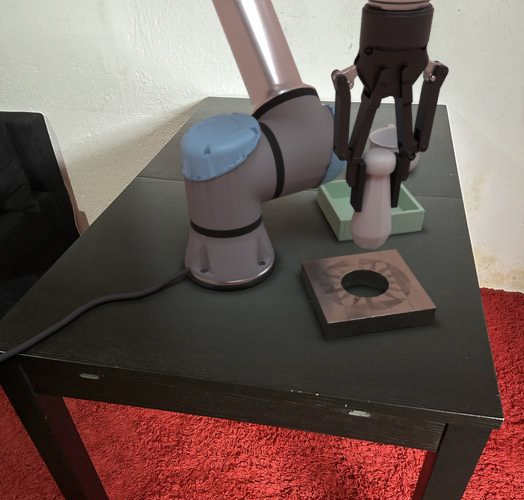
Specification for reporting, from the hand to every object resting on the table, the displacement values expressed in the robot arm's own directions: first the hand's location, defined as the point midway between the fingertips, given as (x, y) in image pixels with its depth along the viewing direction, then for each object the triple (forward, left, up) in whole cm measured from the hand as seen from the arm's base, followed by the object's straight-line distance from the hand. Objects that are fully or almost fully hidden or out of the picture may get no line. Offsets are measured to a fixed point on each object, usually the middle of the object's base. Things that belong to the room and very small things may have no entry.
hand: (373, 204), depth 71 cm
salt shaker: (0, 0, -6) cm, 6 cm away
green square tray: (+9, +25, -16) cm, 31 cm away
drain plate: (0, 0, -16) cm, 16 cm away
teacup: (+21, +44, -16) cm, 51 cm away
